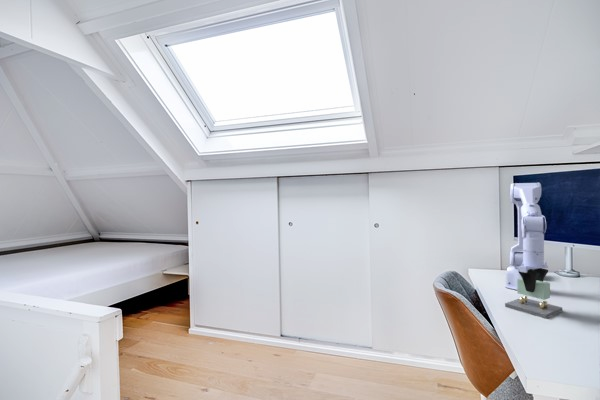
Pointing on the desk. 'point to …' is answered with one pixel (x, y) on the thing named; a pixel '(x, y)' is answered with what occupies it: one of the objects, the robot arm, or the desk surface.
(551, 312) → the plate
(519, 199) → the robot arm
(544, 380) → the desk surface
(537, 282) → the board block
